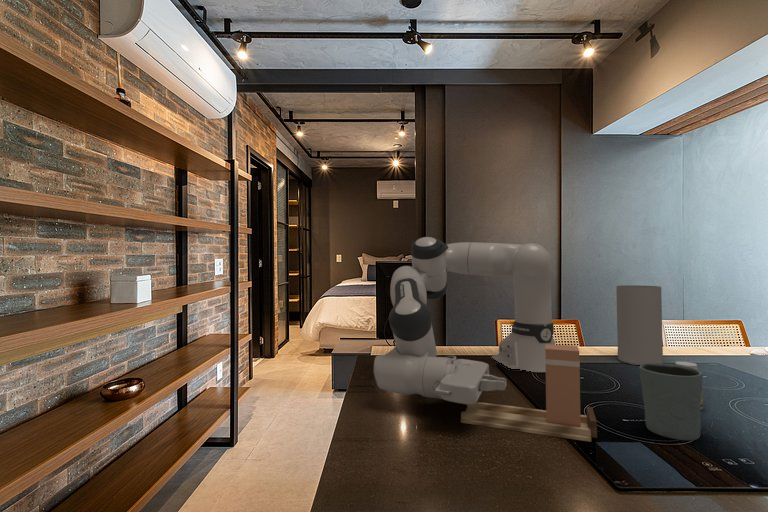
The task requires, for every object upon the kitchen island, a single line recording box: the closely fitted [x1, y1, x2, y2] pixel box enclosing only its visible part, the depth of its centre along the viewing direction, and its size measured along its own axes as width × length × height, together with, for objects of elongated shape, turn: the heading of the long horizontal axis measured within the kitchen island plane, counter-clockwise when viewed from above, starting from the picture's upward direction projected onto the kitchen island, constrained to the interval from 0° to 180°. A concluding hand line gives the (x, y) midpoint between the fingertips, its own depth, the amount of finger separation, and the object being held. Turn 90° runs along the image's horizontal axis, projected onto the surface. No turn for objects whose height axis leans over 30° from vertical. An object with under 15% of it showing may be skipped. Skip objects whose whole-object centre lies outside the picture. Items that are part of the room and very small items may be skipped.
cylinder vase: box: [615, 284, 664, 366], centre depth 130 cm, size 12×12×25 cm
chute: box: [460, 401, 598, 443], centre depth 81 cm, size 25×9×4 cm, turn 67°
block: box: [545, 344, 581, 427], centre depth 78 cm, size 6×5×15 cm
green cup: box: [638, 363, 703, 441], centre depth 77 cm, size 10×10×12 cm
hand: (505, 384), depth 82 cm, fingers closed
